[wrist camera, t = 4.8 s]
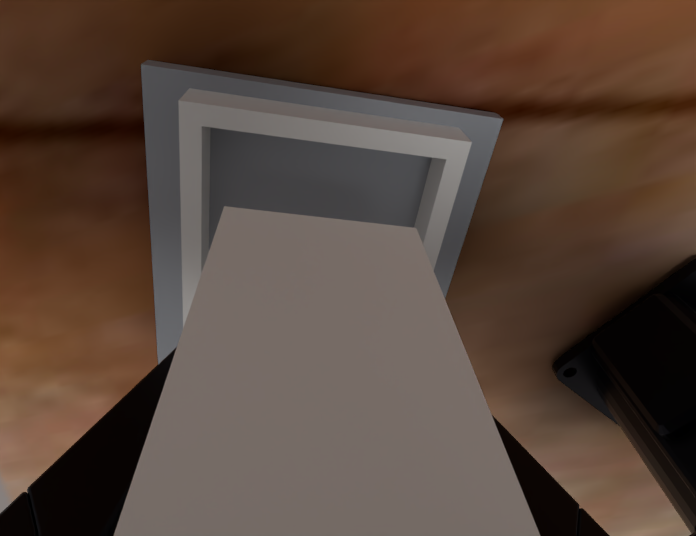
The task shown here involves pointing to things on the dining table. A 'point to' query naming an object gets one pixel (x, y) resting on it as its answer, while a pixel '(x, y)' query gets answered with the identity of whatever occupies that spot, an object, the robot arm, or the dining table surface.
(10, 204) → the dining table surface
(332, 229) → the plug
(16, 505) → the robot arm
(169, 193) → the socket panel
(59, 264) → the dining table surface
